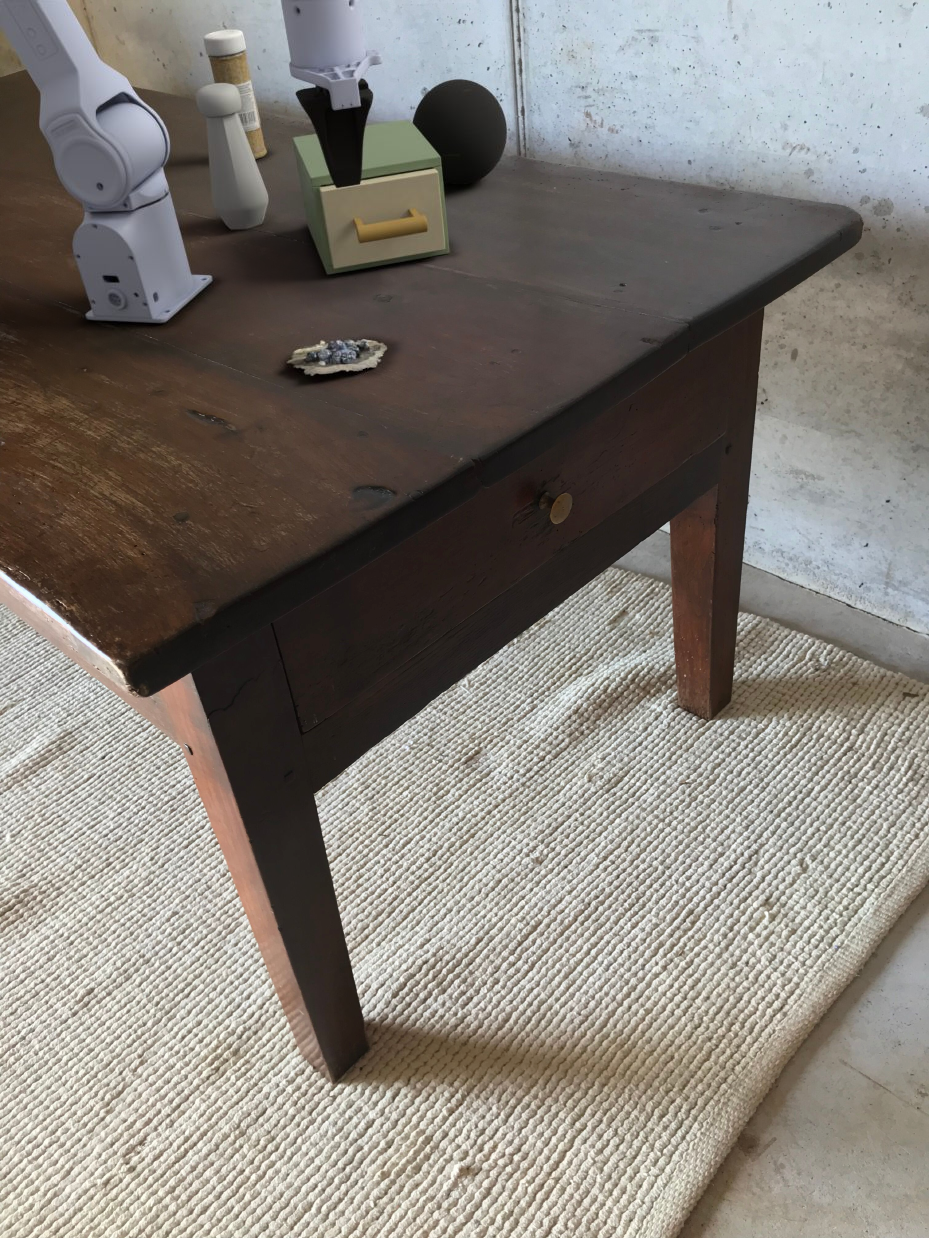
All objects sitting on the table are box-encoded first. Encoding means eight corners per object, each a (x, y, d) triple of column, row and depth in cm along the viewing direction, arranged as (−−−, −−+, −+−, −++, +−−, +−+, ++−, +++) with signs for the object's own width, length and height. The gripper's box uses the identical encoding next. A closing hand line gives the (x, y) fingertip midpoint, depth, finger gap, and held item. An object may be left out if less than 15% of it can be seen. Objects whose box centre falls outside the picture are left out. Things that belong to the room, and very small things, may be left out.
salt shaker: (261, 232, 104) (231, 93, 96) (209, 233, 105) (175, 95, 97) (280, 212, 108) (253, 77, 100) (230, 213, 109) (199, 79, 101)
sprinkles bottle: (265, 149, 127) (241, 26, 118) (268, 159, 124) (243, 33, 115) (229, 154, 127) (202, 32, 118) (230, 165, 123) (202, 39, 115)
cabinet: (449, 253, 95) (440, 156, 90) (327, 275, 94) (310, 177, 88) (419, 208, 106) (409, 119, 100) (308, 227, 104) (292, 137, 98)
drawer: (456, 265, 91) (449, 186, 86) (340, 286, 89) (327, 206, 85) (417, 207, 103) (409, 135, 99) (315, 224, 102) (302, 152, 97)
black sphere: (399, 185, 112) (387, 84, 105) (471, 161, 116) (464, 64, 110) (454, 204, 106) (445, 99, 99) (528, 179, 110) (524, 76, 103)
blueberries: (274, 363, 81) (269, 341, 79) (359, 330, 84) (356, 308, 83) (319, 392, 76) (314, 368, 75) (406, 356, 80) (403, 333, 78)
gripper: (390, 0, 70) (412, 203, 79) (356, -29, 81) (379, 152, 90) (288, 14, 69) (322, 218, 78) (267, -17, 80) (299, 165, 89)
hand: (347, 184), depth 84 cm, fingers closed
